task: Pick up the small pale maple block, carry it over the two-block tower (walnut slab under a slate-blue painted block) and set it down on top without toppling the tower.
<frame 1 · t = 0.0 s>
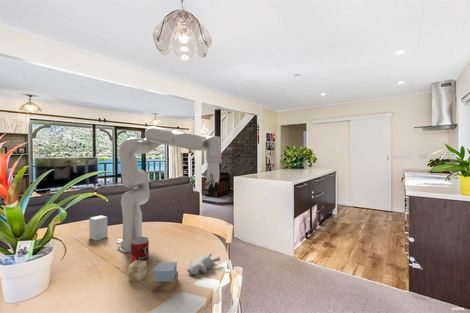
hand: (213, 193, 117), 31 cm above the table, tool pointing down, fingers open, 9 cm apart
white figure shaped piece: (203, 269, 102), on the table
maple block: (137, 277, 94), on the table
tower base block: (165, 286, 88), on the table, touching tower top block
tower top block: (165, 276, 88), point 4 cm above the table, touching tower base block
canned food: (139, 263, 107), on the table
supplement box: (98, 238, 138), on the table
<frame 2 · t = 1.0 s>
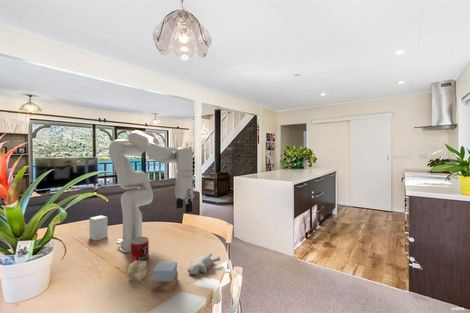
hand: (184, 210, 107), 25 cm above the table, tool pointing down, fingers open, 9 cm apart
tower base block: (165, 286, 88), on the table
tower top block: (165, 276, 88), point 4 cm above the table
everything else where it was.
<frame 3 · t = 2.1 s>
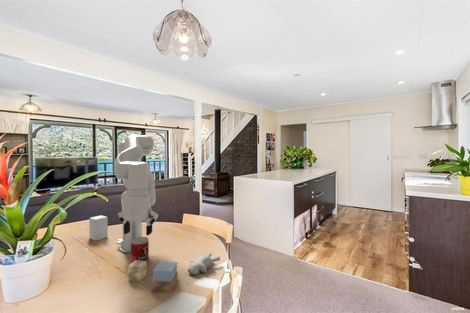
hand: (138, 233, 94), 18 cm above the table, tool pointing down, fingers open, 9 cm apart
tower base block: (165, 286, 88), on the table, touching tower top block
tower top block: (165, 276, 88), point 4 cm above the table, touching tower base block
everything else where it was.
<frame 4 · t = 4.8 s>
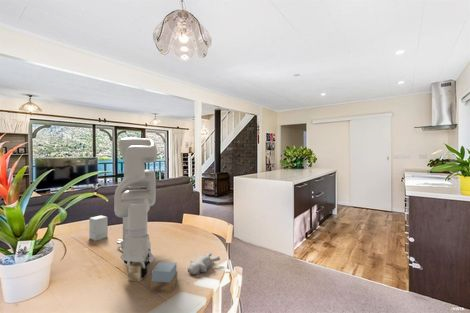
hand: (137, 275, 94), 1 cm above the table, tool pointing down, fingers closed on maple block, 5 cm apart
maple block: (137, 277, 94), on the table, touching gripper
tower base block: (164, 286, 88), on the table
tower top block: (164, 276, 88), point 4 cm above the table
everything else where it was.
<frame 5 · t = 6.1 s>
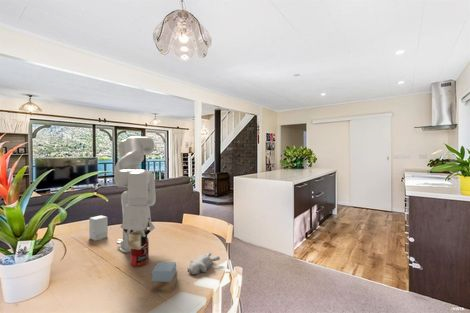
hand: (137, 244, 95), 14 cm above the table, tool pointing down, fingers closed on maple block, 5 cm apart
maple block: (137, 246, 95), point 13 cm above the table, touching gripper
tower base block: (164, 286, 88), on the table, touching tower top block
tower top block: (164, 276, 88), point 4 cm above the table, touching tower base block
everything else where it was.
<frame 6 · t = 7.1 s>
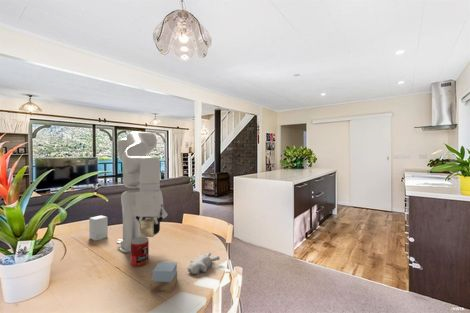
hand: (149, 232, 91), 20 cm above the table, tool pointing down, fingers closed on maple block, 5 cm apart
maple block: (149, 234, 91), point 19 cm above the table, touching gripper
everything else where it was.
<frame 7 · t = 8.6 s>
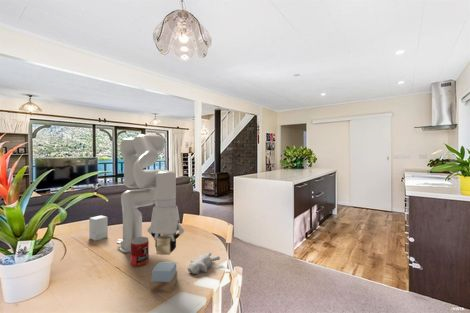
hand: (165, 249, 88), 14 cm above the table, tool pointing down, fingers closed on maple block, 5 cm apart
maple block: (165, 251, 88), point 13 cm above the table, touching gripper
tower base block: (164, 286, 88), on the table
tower top block: (164, 276, 88), point 4 cm above the table
everything else where it was.
when the fingers open (10 cm above the table, at t = 10.1 s): maple block drops 1 cm, resting on tower top block.
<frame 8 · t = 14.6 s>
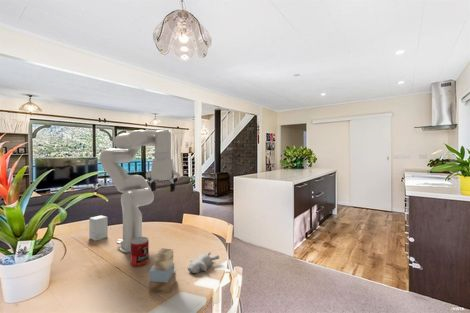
hand: (162, 191, 110), 33 cm above the table, tool pointing down, fingers open, 9 cm apart
maple block: (164, 266, 88), point 8 cm above the table, touching tower top block
tower base block: (163, 287, 88), on the table, touching tower top block
tower top block: (162, 276, 88), point 4 cm above the table, touching maple block, tower base block
at the end: maple block 0.8 cm from the tower top block (horizontally); maple block point 7.6 cm above the table; tower top block tilted 0° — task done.
